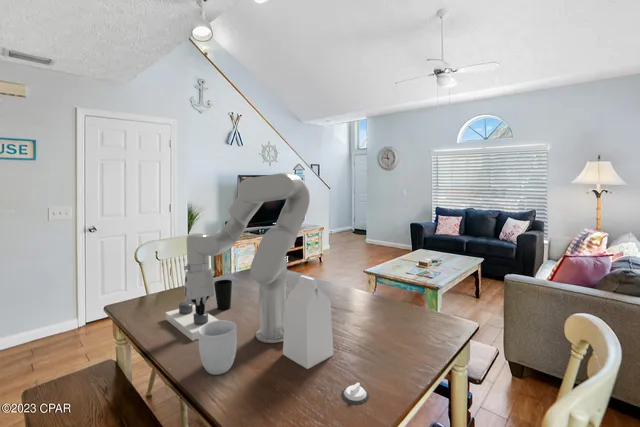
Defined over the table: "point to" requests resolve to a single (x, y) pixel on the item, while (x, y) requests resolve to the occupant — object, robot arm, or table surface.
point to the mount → (186, 322)
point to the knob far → (185, 307)
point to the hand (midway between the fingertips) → (200, 313)
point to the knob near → (201, 318)
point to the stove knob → (355, 394)
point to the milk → (307, 324)
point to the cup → (223, 294)
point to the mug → (217, 345)
